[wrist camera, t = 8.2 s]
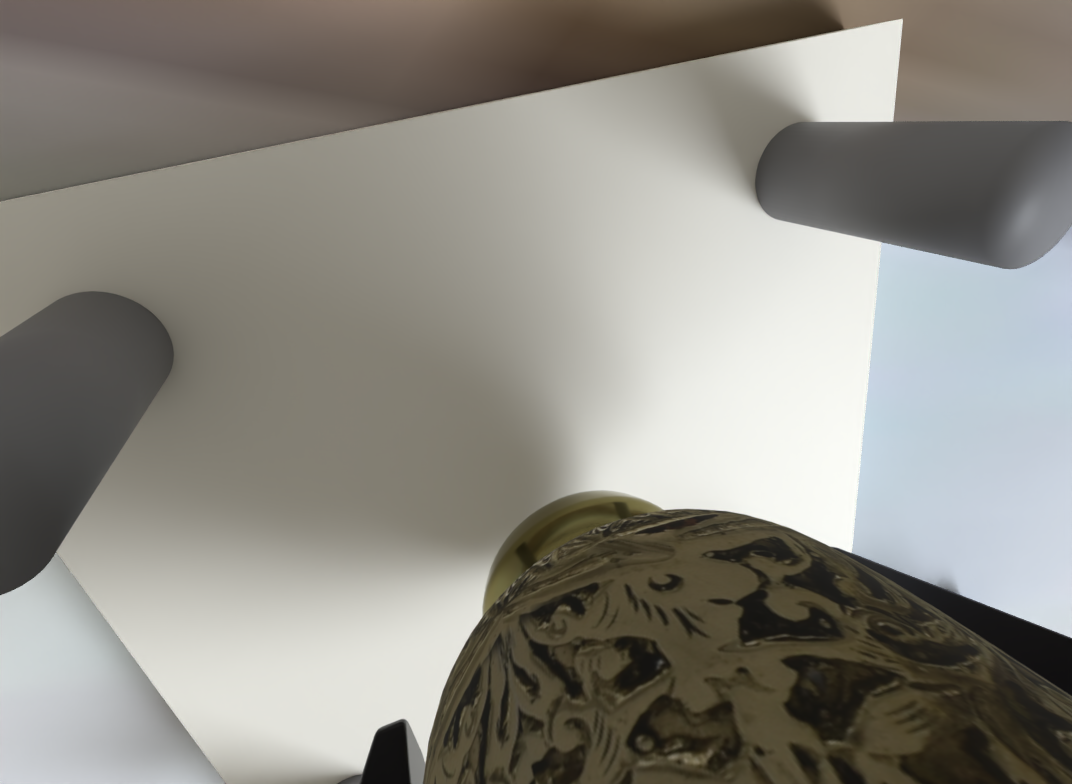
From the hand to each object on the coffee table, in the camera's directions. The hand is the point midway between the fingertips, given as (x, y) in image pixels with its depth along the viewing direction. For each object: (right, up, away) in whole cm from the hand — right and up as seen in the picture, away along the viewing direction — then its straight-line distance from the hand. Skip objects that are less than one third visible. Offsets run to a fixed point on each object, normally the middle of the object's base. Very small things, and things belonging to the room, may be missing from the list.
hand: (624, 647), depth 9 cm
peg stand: (-1, +2, +4) cm, 4 cm away
